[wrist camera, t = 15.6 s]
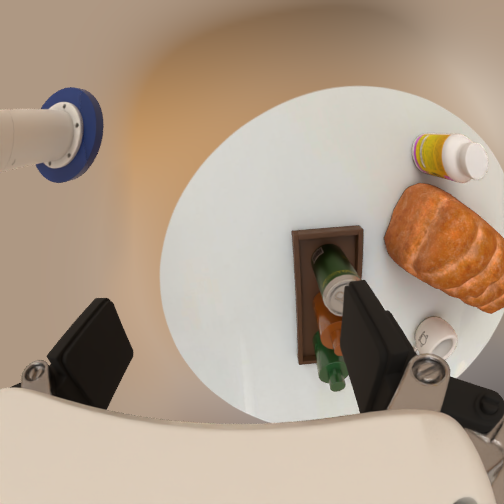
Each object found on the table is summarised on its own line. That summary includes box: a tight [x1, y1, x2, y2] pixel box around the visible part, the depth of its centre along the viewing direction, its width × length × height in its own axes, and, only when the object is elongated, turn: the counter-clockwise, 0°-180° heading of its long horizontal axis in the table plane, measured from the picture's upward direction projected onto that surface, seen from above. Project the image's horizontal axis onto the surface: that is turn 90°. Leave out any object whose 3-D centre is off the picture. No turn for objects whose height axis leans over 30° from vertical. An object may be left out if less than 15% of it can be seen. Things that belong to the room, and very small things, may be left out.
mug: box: [414, 317, 458, 360], centre depth 43 cm, size 12×8×8 cm
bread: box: [384, 183, 504, 314], centre depth 32 cm, size 14×26×16 cm, turn 70°
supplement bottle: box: [412, 133, 488, 183], centre depth 28 cm, size 7×7×13 cm
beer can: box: [311, 244, 361, 316], centre depth 35 cm, size 5×5×12 cm
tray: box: [292, 225, 363, 365], centre depth 43 cm, size 11×26×2 cm, turn 7°
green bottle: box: [312, 331, 349, 391], centre depth 41 cm, size 5×5×12 cm
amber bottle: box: [312, 292, 343, 356], centre depth 38 cm, size 5×5×12 cm
